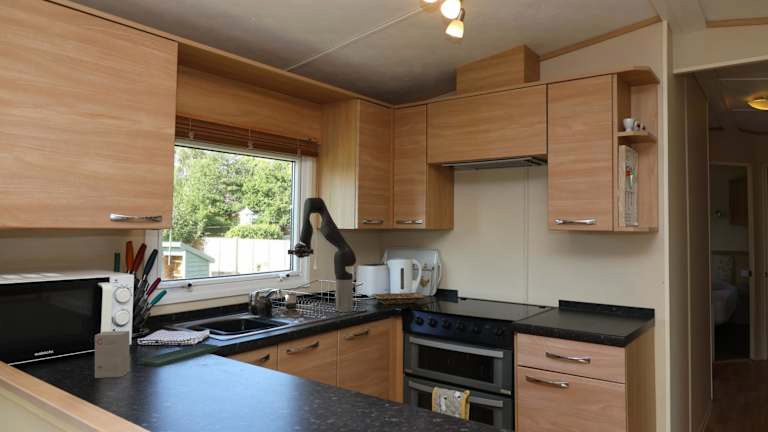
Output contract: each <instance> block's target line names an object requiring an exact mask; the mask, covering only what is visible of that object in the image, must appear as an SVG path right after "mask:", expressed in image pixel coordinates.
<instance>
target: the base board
mask: <svg viewBox="0 0 768 432" xmlns="http://www.w3.org/2000/svg"><path fill="white" fill-rule="evenodd" d="M284 317H285V318H301V317H302V312H301V311H300V314H299V315H293V316H286V315H282V313H281V315H280V318H281V319H282V318H284Z"/></svg>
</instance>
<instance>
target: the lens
mask: <svg viewBox="0 0 768 432" xmlns="http://www.w3.org/2000/svg"><path fill="white" fill-rule="evenodd" d="M284 303H285V310H286V312H296V310H297V294H296V293H286V294H285V302H284Z"/></svg>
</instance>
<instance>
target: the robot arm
mask: <svg viewBox="0 0 768 432" xmlns="http://www.w3.org/2000/svg"><path fill="white" fill-rule="evenodd" d="M327 207H328V206H327V205H326V203H325V201H324V199H322V198H321V197H307V198H306V199H305V200H304V203H303V212H302V213H303V214H302V226H301V232H300V236H299V241H300V243H296V244H295V245H294V247H293V249H287V255H288V256H289V255H293V256H296V257H297V258H298V259H303V258H306V257H308V258H309V257H310V256H311V255H314V249H313V248H312V237H313V235H314V234H313V233H314V227H313V224H312V222H311V215H312V214H318V215H320V218H321V221H320V225H319V226H320V228H319V229H320V232H321V234H322V236H323V237H324V239H325V240H326V241H327V242H328V243H330V245H333V246H334V247H335V248H336V249H337V250H336V251H335V253H334V255H333V265H334V269H333V270H334V275H335V312H337V311H338V312H339V313H349V312H354V292H353V291H354V288H353V287H354V286H353V285H354V284H353V283H354V282H353V281H354V277H353V273H350V272H348V271H347V269H346V268H347V267H353V266H354V265H355V264H356V262H357V256H356V253H355V252H354V250H353V249H352V248H351V246H350V244H349V243H348V242H347V240H346V239H345V238H344V236H343V234H342V233H341V231H340V230H339V228H338V226H337V224H336V223H335V221H334V219H333V218H332V216H331V214H330V212H329V210H328V208H327Z"/></svg>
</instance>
